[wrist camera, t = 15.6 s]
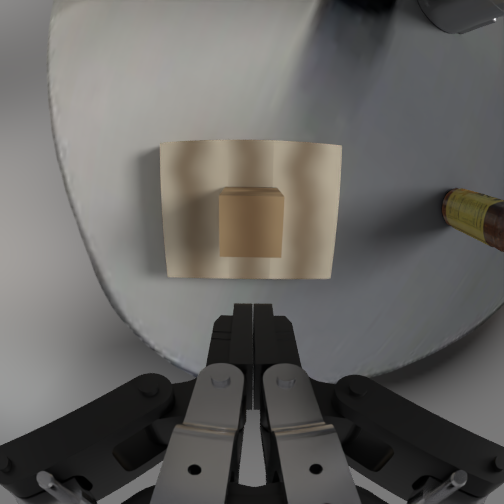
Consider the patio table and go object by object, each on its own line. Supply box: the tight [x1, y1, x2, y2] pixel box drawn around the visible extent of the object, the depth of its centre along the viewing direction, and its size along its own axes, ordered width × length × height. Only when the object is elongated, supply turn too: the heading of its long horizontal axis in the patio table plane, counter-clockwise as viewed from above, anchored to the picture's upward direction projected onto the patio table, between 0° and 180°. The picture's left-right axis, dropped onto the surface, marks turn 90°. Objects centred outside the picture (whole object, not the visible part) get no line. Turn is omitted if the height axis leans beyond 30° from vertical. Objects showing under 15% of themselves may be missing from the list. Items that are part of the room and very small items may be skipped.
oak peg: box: [219, 187, 285, 258], centre depth 29 cm, size 6×6×10 cm
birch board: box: [160, 140, 342, 279], centre depth 32 cm, size 20×16×4 cm
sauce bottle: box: [442, 188, 504, 252], centre depth 24 cm, size 6×6×20 cm
